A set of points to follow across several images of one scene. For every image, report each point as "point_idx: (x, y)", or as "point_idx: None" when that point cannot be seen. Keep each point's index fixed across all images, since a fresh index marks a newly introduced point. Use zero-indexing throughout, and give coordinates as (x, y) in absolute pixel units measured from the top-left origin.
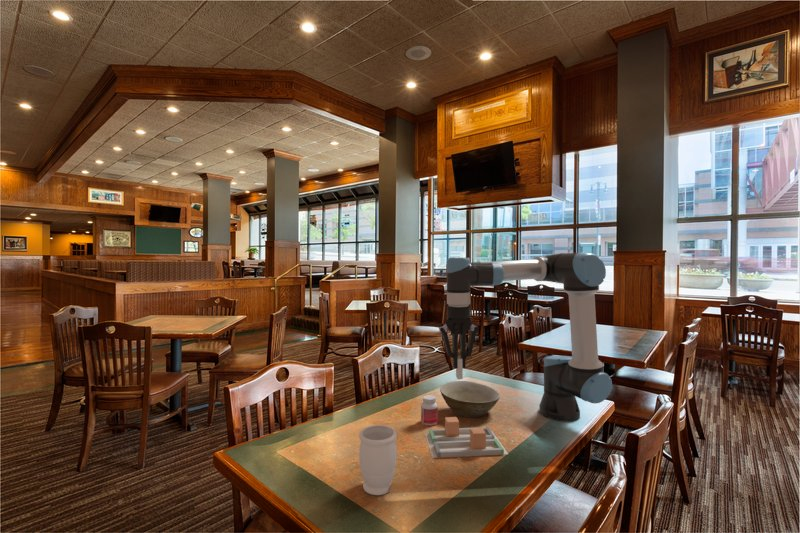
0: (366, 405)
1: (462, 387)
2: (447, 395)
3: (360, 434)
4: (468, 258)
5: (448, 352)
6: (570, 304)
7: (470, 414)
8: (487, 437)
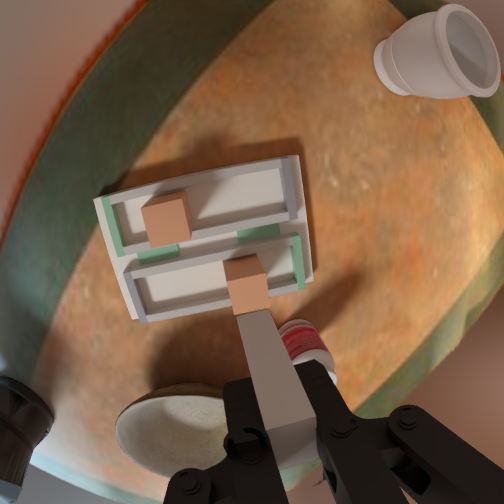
0: (409, 387)
1: None
2: None
3: (496, 53)
4: None
5: (442, 430)
6: None
7: (189, 383)
8: (141, 268)
